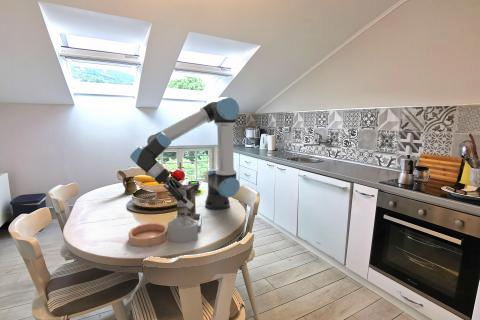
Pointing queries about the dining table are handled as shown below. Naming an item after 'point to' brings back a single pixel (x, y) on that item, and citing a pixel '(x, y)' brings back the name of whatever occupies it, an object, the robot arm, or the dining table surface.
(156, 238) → the bowl
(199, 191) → the toy cauldron
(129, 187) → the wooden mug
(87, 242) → the dining table surface
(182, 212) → the coffee box
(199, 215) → the parts tray
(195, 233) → the lumpy-topped squat cylinder
